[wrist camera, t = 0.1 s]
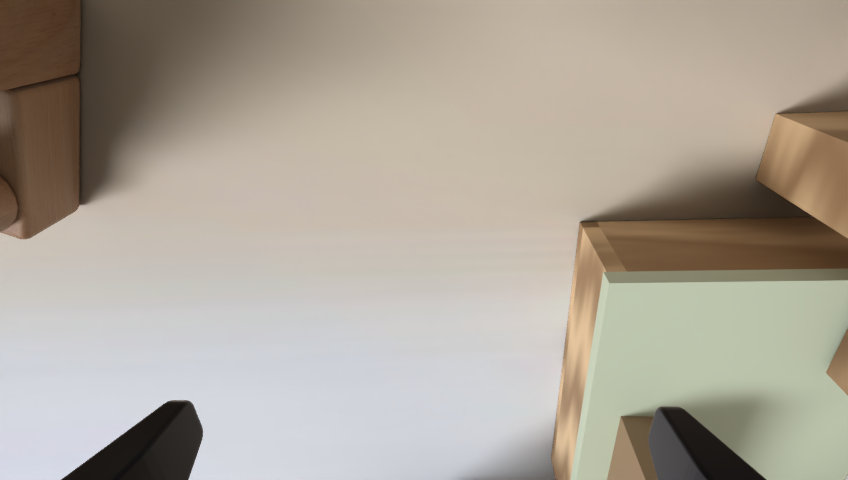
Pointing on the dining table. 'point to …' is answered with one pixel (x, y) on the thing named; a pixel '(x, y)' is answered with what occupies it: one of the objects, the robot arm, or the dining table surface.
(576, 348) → the tan wooden box
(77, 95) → the wooden block structure
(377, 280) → the dining table surface
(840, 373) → the wooden plank
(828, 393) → the lid
